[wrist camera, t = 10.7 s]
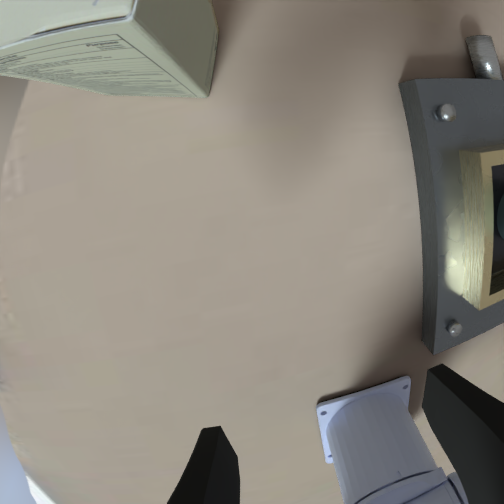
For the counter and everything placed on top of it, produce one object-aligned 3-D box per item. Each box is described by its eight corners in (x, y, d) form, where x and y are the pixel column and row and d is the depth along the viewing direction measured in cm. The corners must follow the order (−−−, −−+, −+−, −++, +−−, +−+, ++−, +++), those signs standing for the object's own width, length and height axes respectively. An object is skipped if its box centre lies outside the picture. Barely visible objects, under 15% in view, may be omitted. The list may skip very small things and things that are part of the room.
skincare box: (220, 28, 14) (193, -125, 3) (208, 102, 16) (143, 23, 4) (112, 29, 14) (-19, -62, 2) (100, 99, 15) (-68, 73, 4)
